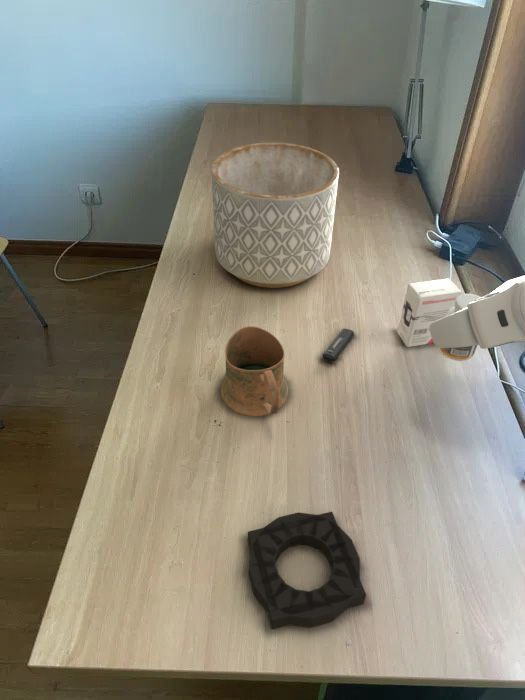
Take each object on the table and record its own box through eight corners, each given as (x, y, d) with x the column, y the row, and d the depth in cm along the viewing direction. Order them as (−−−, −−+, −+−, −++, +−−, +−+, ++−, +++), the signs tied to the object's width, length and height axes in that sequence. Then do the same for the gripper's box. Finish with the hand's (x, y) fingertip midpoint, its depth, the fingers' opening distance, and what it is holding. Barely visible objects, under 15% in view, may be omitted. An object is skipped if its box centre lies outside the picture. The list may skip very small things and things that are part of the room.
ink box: (435, 325, 111) (450, 276, 104) (447, 341, 108) (463, 291, 100) (396, 331, 110) (407, 282, 102) (406, 348, 106) (419, 298, 98)
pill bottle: (451, 334, 95) (467, 286, 88) (480, 352, 91) (499, 304, 85) (430, 348, 92) (444, 300, 85) (459, 367, 89) (477, 318, 82)
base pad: (374, 609, 70) (377, 600, 68) (265, 640, 67) (266, 631, 66) (334, 512, 80) (336, 503, 78) (238, 535, 77) (238, 526, 76)
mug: (238, 450, 88) (237, 398, 80) (215, 373, 100) (211, 322, 92) (308, 436, 90) (313, 383, 82) (277, 362, 103) (279, 311, 95)
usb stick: (342, 331, 110) (343, 325, 109) (355, 336, 109) (356, 330, 108) (320, 359, 104) (321, 353, 103) (333, 365, 103) (334, 358, 102)
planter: (285, 310, 114) (290, 211, 99) (192, 267, 125) (184, 171, 110) (349, 256, 129) (362, 163, 114) (261, 221, 141) (262, 132, 126)
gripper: (576, 267, 79) (504, 287, 92) (464, 305, 72) (403, 320, 85) (590, 310, 79) (516, 324, 92) (478, 352, 72) (415, 360, 85)
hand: (461, 323), depth 88 cm, fingers closed on pill bottle, 6 cm apart
